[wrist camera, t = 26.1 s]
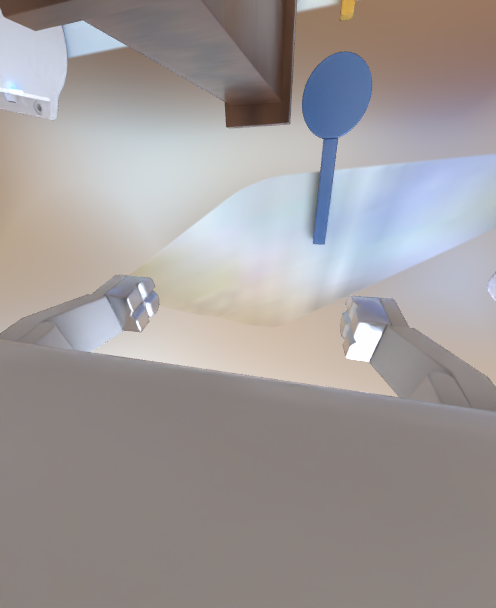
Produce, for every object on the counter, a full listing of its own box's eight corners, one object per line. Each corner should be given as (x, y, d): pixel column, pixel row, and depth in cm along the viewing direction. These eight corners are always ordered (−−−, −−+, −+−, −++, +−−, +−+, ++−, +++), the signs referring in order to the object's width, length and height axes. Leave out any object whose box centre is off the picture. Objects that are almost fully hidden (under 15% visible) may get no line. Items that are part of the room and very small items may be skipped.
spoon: (295, 240, 36) (293, 244, 34) (306, 64, 26) (304, 57, 24) (343, 242, 34) (344, 246, 32) (376, 53, 24) (379, 45, 22)
